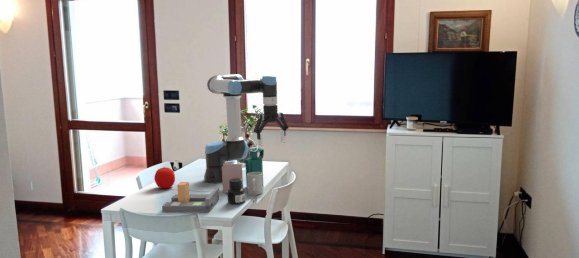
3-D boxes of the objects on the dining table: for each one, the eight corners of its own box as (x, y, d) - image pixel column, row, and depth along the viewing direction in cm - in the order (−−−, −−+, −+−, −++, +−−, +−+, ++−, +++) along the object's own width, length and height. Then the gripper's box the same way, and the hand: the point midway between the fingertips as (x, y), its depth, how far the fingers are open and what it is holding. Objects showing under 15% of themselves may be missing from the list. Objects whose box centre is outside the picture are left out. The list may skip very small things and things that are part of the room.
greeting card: (243, 189, 263) (242, 163, 260) (238, 193, 256) (237, 166, 253) (225, 188, 266) (223, 163, 264) (219, 192, 259) (218, 166, 257)
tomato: (167, 184, 279) (165, 164, 277) (180, 186, 273) (178, 166, 271) (150, 189, 269) (148, 168, 267) (163, 192, 263) (161, 170, 261)
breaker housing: (162, 212, 227) (161, 199, 226) (175, 199, 247) (174, 188, 246) (209, 212, 225) (209, 199, 224) (219, 199, 245) (218, 187, 244)
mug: (248, 190, 260) (247, 171, 258) (263, 190, 260) (262, 171, 258) (246, 197, 248) (245, 177, 247) (261, 196, 248) (260, 176, 246)
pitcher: (251, 189, 262) (249, 151, 258) (245, 186, 269) (243, 149, 266) (266, 187, 266) (265, 149, 263) (260, 183, 274) (259, 147, 270)
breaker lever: (178, 204, 233) (177, 184, 232) (182, 200, 239) (180, 181, 238) (186, 204, 233) (184, 184, 232) (189, 200, 239) (188, 181, 237)
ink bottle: (239, 205, 233) (238, 182, 232) (224, 204, 237) (223, 181, 235) (248, 200, 242) (247, 178, 240) (233, 198, 246) (232, 177, 244)
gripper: (252, 107, 235) (254, 147, 238) (294, 103, 247) (295, 141, 251) (246, 106, 241) (247, 145, 245) (287, 102, 254) (288, 140, 257)
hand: (271, 143), depth 248 cm, fingers open, 13 cm apart
